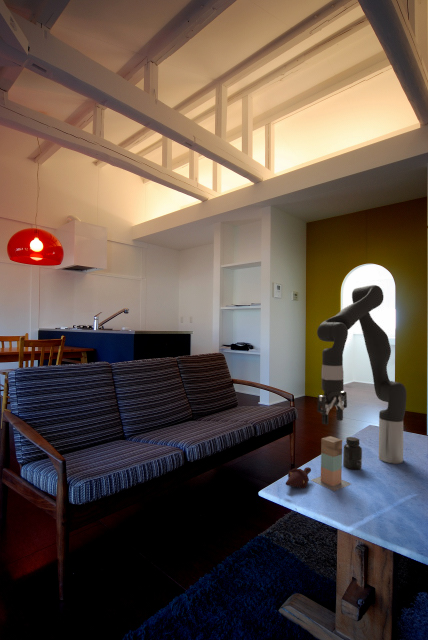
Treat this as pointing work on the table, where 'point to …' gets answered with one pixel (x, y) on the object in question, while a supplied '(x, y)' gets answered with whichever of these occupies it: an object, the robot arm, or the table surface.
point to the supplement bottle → (352, 454)
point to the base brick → (331, 476)
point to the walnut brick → (331, 446)
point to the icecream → (298, 477)
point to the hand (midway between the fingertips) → (332, 422)
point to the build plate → (334, 488)
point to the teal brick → (331, 462)
